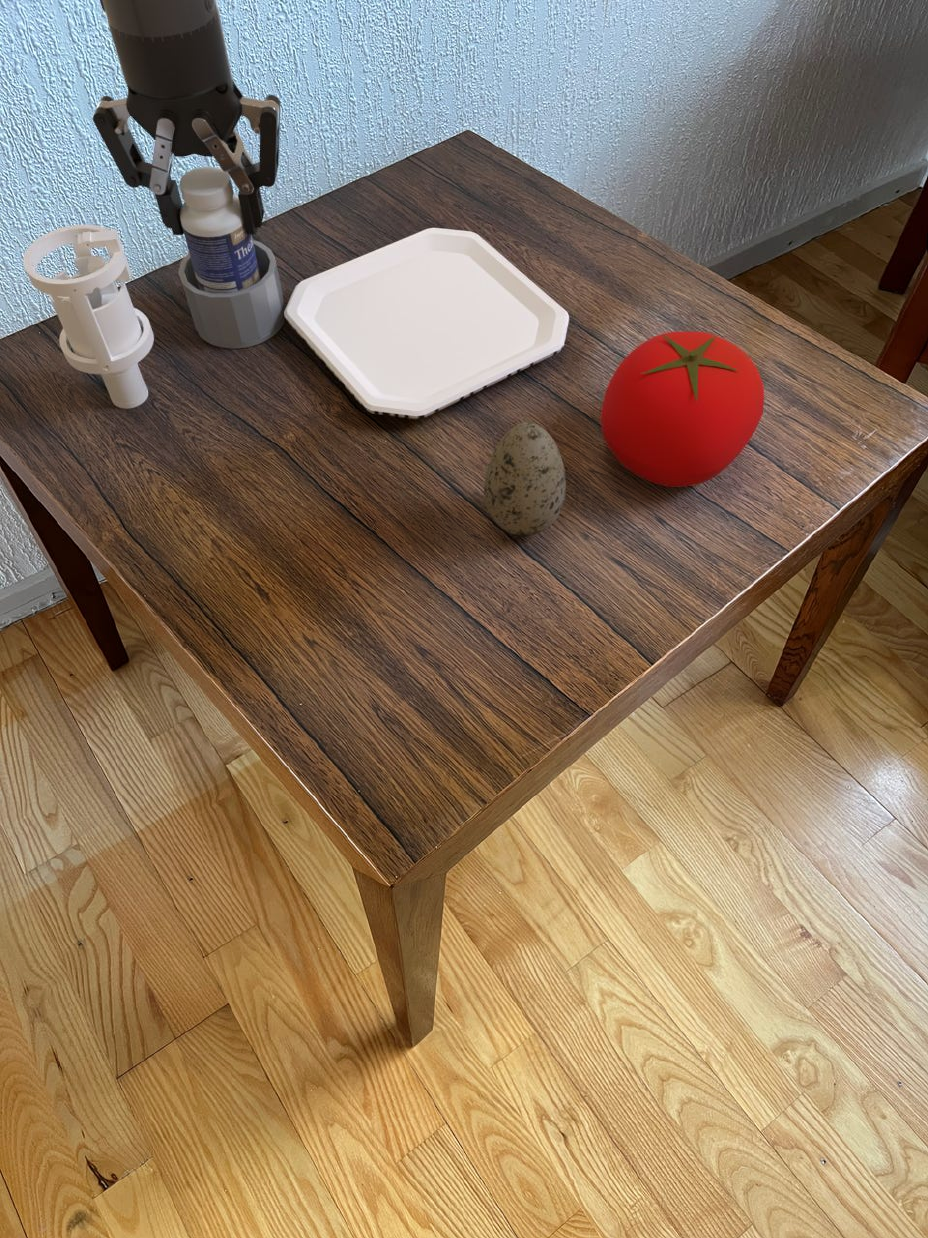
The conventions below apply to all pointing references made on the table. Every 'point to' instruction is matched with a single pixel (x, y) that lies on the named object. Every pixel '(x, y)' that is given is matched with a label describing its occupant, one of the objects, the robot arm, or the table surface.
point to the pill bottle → (216, 232)
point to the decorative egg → (525, 481)
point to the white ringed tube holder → (96, 310)
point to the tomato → (682, 407)
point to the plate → (426, 322)
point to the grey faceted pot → (237, 306)
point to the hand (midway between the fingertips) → (216, 228)
